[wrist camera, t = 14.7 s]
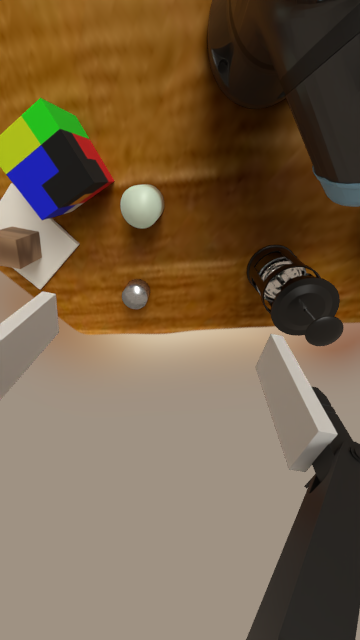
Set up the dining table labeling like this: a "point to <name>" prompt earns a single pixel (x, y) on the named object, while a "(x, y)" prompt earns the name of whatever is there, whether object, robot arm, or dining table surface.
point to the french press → (296, 297)
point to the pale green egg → (142, 205)
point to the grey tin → (136, 294)
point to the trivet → (52, 237)
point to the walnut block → (19, 247)
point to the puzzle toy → (52, 160)
